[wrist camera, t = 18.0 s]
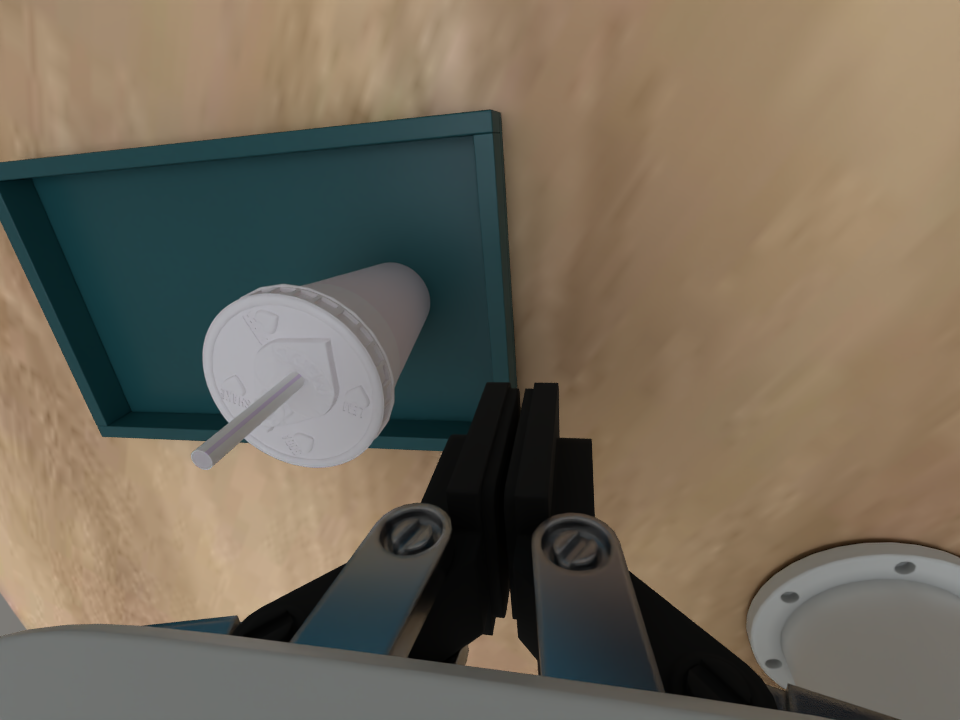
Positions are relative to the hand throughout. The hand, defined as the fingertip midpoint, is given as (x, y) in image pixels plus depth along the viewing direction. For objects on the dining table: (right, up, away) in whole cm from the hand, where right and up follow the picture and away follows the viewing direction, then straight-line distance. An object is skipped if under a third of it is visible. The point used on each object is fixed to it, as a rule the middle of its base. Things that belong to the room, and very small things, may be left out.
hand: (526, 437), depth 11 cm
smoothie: (-5, +5, +13) cm, 15 cm away
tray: (-12, +5, +15) cm, 20 cm away
